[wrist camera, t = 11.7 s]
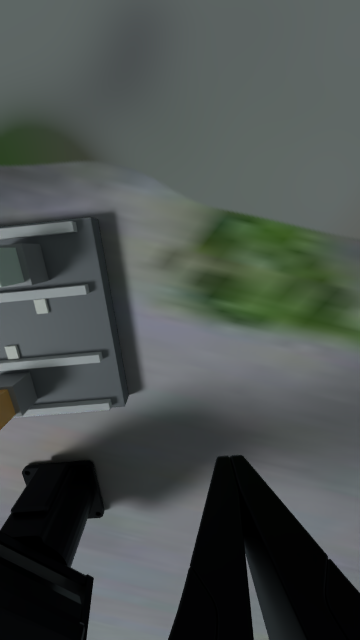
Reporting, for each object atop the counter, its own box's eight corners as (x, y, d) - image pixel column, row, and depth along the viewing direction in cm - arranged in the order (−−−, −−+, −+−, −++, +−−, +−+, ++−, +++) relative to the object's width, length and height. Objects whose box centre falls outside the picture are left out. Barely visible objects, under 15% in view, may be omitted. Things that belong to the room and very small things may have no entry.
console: (128, 395, 21) (123, 411, 19) (2, 406, 22) (-16, 422, 20) (97, 219, 17) (86, 215, 15) (-55, 235, 18) (-86, 234, 16)
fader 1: (48, 280, 17) (9, 290, 13) (14, 284, 17) (-35, 294, 13) (40, 244, 16) (-4, 242, 12) (4, 247, 16) (-51, 247, 13)
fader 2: (37, 399, 20) (2, 436, 16) (7, 402, 20) (-35, 439, 16) (29, 372, 19) (-9, 403, 15) (-2, 374, 19) (-48, 407, 15)
